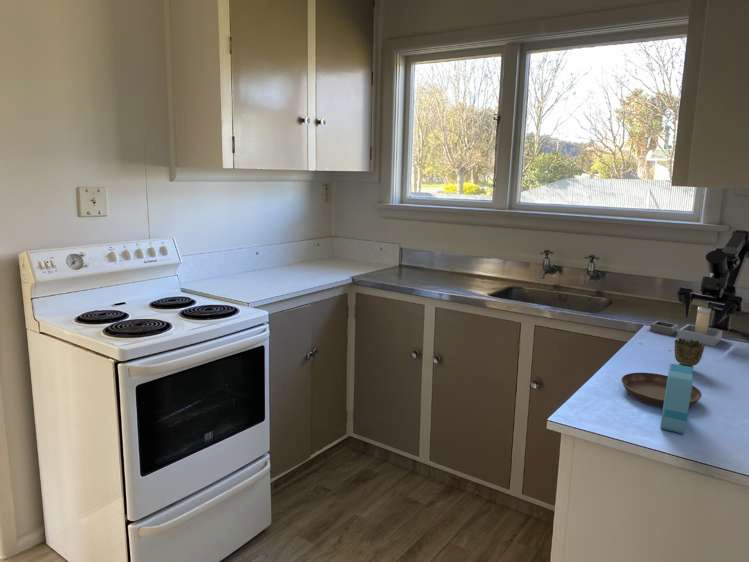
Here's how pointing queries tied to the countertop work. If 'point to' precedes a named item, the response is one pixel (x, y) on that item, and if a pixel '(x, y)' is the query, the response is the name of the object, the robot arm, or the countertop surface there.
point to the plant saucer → (652, 388)
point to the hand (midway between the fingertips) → (702, 319)
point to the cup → (688, 352)
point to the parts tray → (700, 335)
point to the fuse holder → (664, 328)
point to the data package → (677, 398)
